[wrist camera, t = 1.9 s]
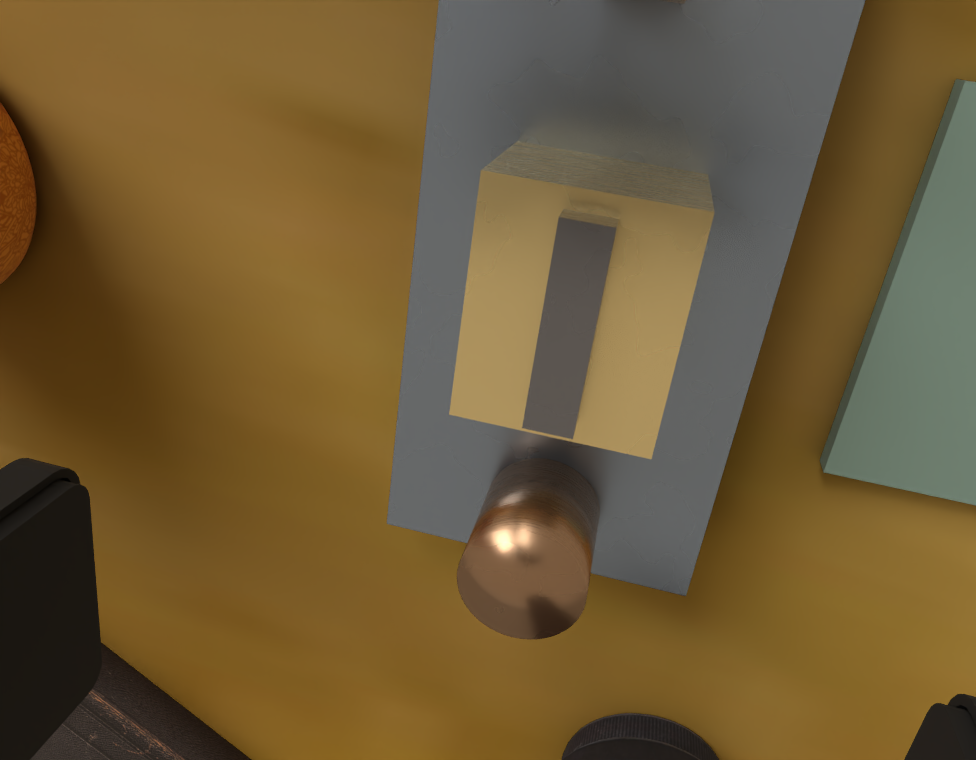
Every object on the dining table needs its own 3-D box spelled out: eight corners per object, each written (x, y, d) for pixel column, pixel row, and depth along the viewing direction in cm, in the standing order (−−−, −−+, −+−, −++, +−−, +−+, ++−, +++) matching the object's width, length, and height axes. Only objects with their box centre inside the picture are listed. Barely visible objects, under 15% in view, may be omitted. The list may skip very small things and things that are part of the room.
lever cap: (517, 141, 22) (472, 176, 17) (707, 174, 21) (716, 220, 16) (486, 348, 24) (440, 428, 20) (656, 383, 24) (650, 476, 19)
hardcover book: (146, 903, 47) (122, 943, 45) (-195, 651, 44) (-237, 683, 42) (299, 783, 40) (278, 824, 38) (-94, 476, 37) (-139, 503, 35)
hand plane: (488, -157, 22) (371, -263, 14) (870, -109, 21) (1000, -192, 13) (416, 471, 31) (316, 646, 22) (685, 534, 30) (687, 744, 21)
